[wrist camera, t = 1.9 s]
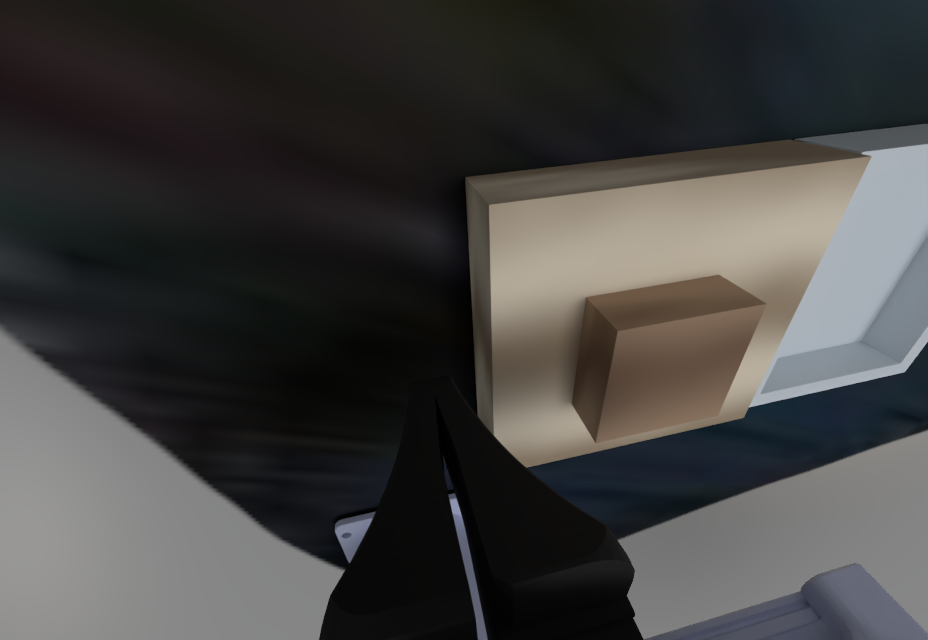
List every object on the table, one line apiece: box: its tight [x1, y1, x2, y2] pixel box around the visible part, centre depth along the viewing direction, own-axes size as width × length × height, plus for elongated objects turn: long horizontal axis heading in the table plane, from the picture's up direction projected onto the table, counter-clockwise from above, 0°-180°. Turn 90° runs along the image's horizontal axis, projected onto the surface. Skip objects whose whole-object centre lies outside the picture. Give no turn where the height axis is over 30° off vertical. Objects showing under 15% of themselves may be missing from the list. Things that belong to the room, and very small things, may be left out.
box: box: [749, 124, 928, 407], centre depth 18 cm, size 12×10×2 cm
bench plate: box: [465, 140, 872, 468], centre depth 16 cm, size 12×12×3 cm
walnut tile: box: [572, 275, 767, 443], centre depth 14 cm, size 5×5×2 cm
